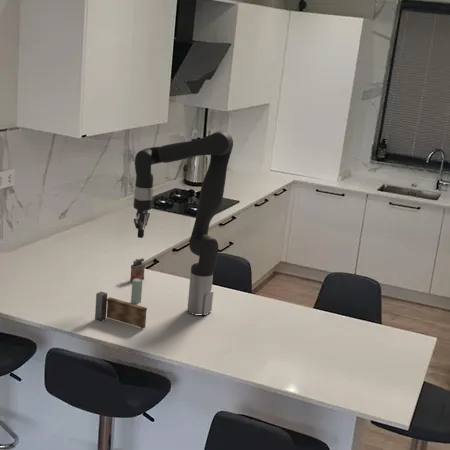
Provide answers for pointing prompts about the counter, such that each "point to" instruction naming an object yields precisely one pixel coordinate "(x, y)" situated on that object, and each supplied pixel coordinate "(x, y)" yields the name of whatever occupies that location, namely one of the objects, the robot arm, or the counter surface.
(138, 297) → the latch post
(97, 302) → the hinge post
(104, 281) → the counter surface
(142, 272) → the lighter
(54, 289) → the counter surface
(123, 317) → the gate
